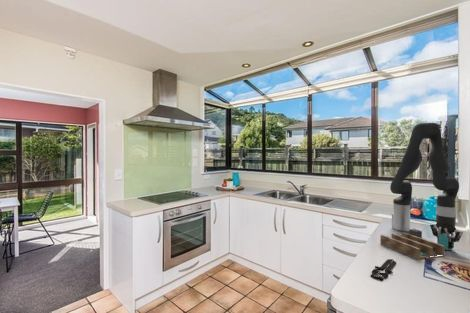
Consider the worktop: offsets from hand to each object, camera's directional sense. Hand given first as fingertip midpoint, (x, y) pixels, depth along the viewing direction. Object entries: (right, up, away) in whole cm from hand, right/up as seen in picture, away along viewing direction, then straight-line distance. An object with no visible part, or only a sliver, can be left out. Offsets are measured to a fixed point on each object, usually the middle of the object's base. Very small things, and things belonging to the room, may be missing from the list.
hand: (445, 246), depth 118 cm
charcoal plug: (-9, -1, +9) cm, 13 cm away
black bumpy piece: (-47, -1, -22) cm, 52 cm away
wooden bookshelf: (-19, -1, -1) cm, 20 cm away
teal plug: (0, -1, 0) cm, 1 cm away
